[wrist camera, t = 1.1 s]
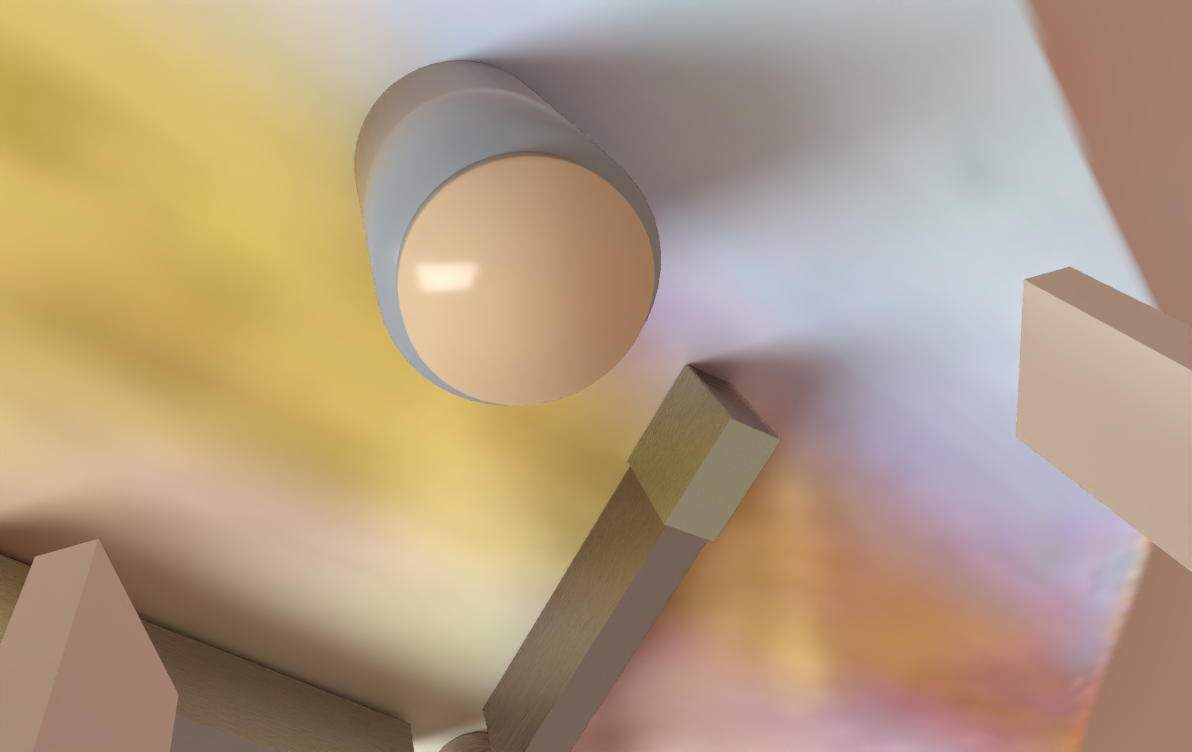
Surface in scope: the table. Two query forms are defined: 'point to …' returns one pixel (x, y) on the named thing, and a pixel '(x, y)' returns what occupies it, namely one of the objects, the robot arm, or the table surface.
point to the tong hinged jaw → (244, 698)
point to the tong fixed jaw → (628, 566)
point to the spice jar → (500, 237)
